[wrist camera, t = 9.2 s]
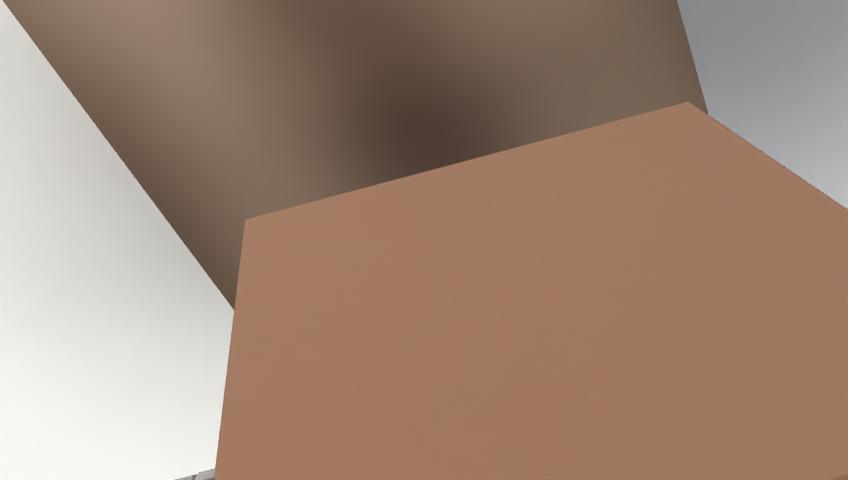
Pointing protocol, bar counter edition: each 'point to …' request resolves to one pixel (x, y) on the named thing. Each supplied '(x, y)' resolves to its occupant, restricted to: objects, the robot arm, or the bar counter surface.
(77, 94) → the walnut block
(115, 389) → the bar counter surface
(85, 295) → the bar counter surface
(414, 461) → the rust cube
